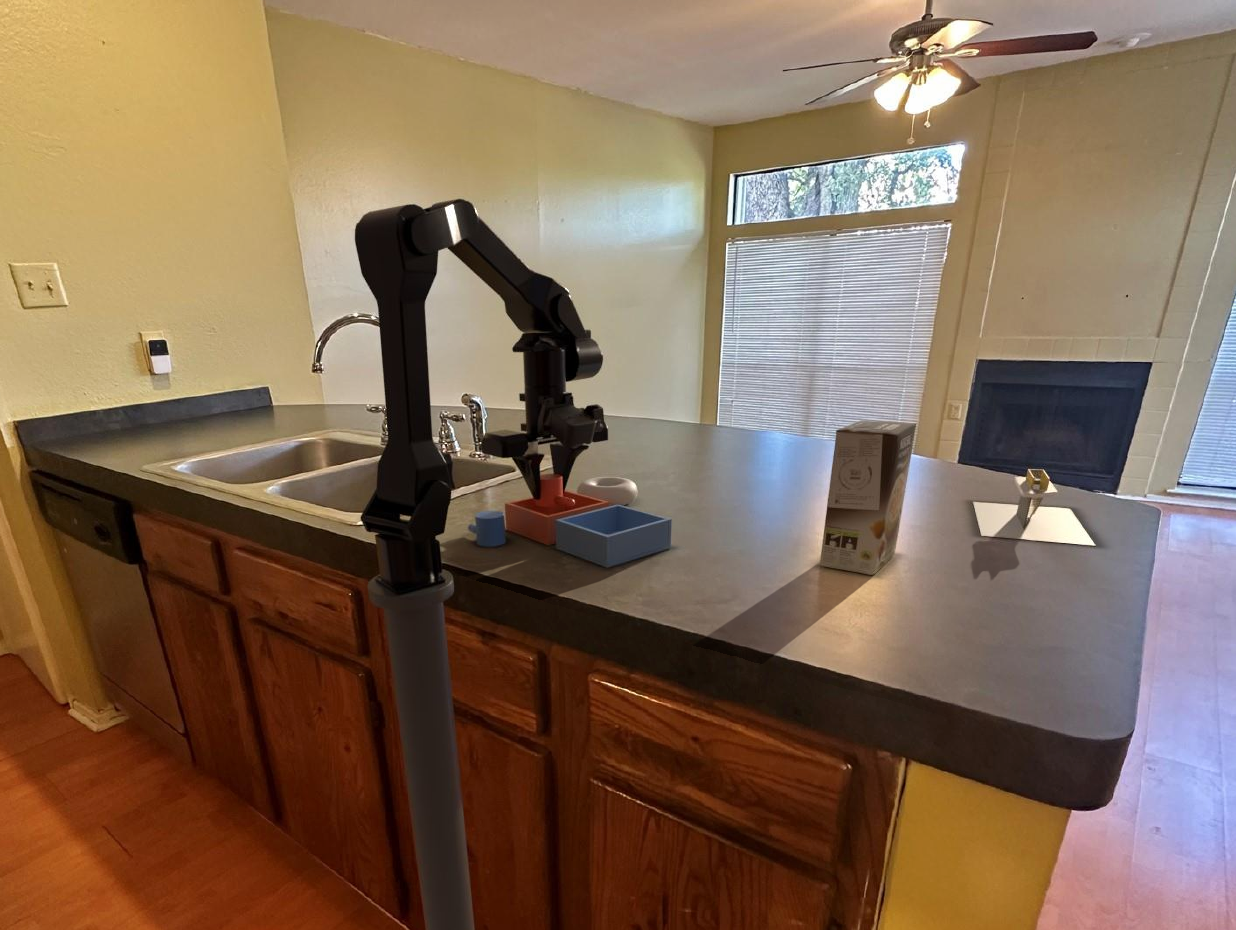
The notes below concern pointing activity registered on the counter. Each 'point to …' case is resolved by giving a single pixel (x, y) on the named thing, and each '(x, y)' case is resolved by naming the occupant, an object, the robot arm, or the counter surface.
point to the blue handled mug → (489, 528)
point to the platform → (1031, 516)
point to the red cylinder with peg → (552, 492)
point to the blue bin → (613, 535)
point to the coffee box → (866, 494)
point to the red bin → (546, 516)
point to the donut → (609, 490)
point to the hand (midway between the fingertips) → (548, 496)
